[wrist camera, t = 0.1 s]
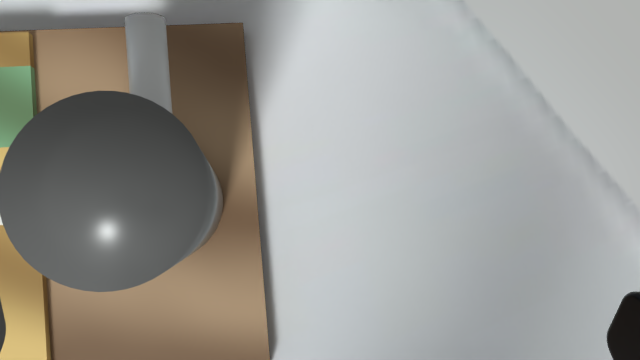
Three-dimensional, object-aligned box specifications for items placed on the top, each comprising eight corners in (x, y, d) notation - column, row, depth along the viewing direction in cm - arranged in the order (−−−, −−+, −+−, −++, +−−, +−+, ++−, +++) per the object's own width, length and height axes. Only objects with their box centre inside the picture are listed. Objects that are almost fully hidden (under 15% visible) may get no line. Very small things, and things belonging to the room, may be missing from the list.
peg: (227, 254, 21) (216, 280, 12) (-55, 282, 19) (-304, 334, 11) (210, 33, 21) (187, -98, 13) (-66, 44, 20) (-313, -96, 11)
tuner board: (269, 367, 22) (271, 377, 21) (-51, 408, 20) (-72, 422, 19) (242, 31, 23) (242, 19, 22) (-68, 42, 21) (-89, 30, 20)
